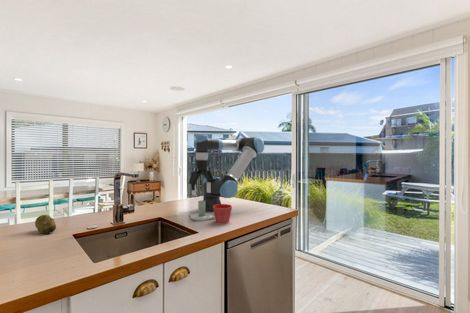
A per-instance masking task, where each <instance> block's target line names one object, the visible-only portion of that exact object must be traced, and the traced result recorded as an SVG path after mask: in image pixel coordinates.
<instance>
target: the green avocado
mask: <svg viewBox="0 0 470 313" xmlns="http://www.w3.org/2000/svg"><path fill="white" fill-rule="evenodd" d="M34 226H35V228H36V229H37V231H38V232H39V233H40V232H41V233H40V234H45V233H46V234H51V233H53V232H55V230H56V228H57V226H56V221H55V219H54V218H53V217H51V216H50V215H47V214H42V215H39V216H38V217H37V218H36V219H35V222H34ZM50 232H51V233H50Z"/></svg>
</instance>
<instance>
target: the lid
mask: <svg viewBox="0 0 470 313" xmlns="http://www.w3.org/2000/svg"><path fill="white" fill-rule="evenodd" d="M197 204H198V206H197V209H198V210H197V211H198V212H197V213H192V214H191V215H189V216H190V217H189V219H190V218H191V219H192V220H197V221H196V222H203V221H204V222H205V220H206V221H211V220H210V219H212V218H213V217H214V214H212V213H210V212H209V213H208V212H206V211H205V201H203V200H198V201H197ZM191 219H190V220H191ZM192 220H191V221H192Z"/></svg>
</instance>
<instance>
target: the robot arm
mask: <svg viewBox="0 0 470 313" xmlns="http://www.w3.org/2000/svg"><path fill="white" fill-rule="evenodd" d="M193 148H194V149H195V159H196V160H195V166H196V167H193V168H192V172H191V175H190V177H189V178H190V179H189V181H188V184H189V185H191V186H190V187H191V196H193V197H194V196H195V197H196V196H197V182H198V180H199V178H200V177H201V176H204V179H203V181H202V185H203V188H202V189H203V191H202V194H203V195H202V196H203V197H202V198H203V199H202V201H205V212H206V213H208V212H209V213H210V212H213V213H214V209H213V206H214V205H217V204H222V202H221V198H224V199H232V198H234V197H235V196H236V195H237V193H238V189H239V185H238V184H239V179H240V178H241V176H242V174H243V173H244V172H245V171H246V168H247V167H248V165H249V164H250V163H251V161H252V160H253V158H256V157H257V155H258V154H261V153H263V152H264V150H265V143H264V140H263V138H262V137H260V136H258V137H257V136H255V137H253V136H252V137H241V138H232V139H222V138H209V135H208V134H196V137H195V141H194V142H193ZM209 151H217V152H218V151H232V152H240V155H239V157H238V158H237V159H236V161H235V162H234V164H233V165H232V166H231V168H230V170H228V172H227V174H223V176H222V177H219V176H214V177H213V175H212V171H211V166H209Z"/></svg>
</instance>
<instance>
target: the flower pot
mask: <svg viewBox="0 0 470 313" xmlns="http://www.w3.org/2000/svg"><path fill="white" fill-rule="evenodd" d="M232 208H233V205H231V204H226V203H221V204H217V205H214V206H213V209H214V212H213V216H214V218H215V220H214V221H215V223H216V224H219V225H220V224H221V225H222V224H228V223H230V219H231V214H232V211H233V210H232Z"/></svg>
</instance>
